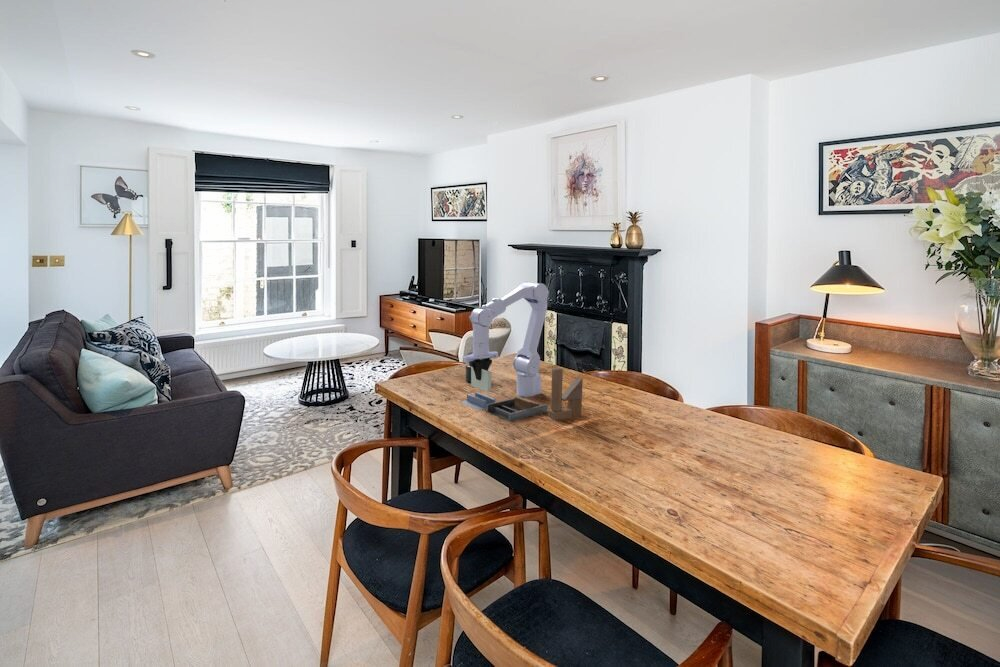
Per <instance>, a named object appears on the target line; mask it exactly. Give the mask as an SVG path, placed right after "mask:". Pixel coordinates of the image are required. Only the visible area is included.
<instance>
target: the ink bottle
mask: <svg viewBox="0 0 1000 667" xmlns="http://www.w3.org/2000/svg"><path fill="white" fill-rule="evenodd" d="M470 354H473V351H471V352H468V353H467V355H470ZM471 367H472V365H471V363H470V362H467V363H466V365H465V381H466V383H470V384H471Z"/></svg>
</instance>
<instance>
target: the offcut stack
mask: <svg viewBox="0 0 1000 667" xmlns="http://www.w3.org/2000/svg"><path fill="white" fill-rule="evenodd" d="M514 398H515V408H518V409H520V410H525V409H529V408H532V407H536V406H540V403H539V402H537V401H533V400H530V399H528V398H526V397H525V398H521V397H520V396H514Z"/></svg>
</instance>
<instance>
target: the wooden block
mask: <svg viewBox="0 0 1000 667" xmlns="http://www.w3.org/2000/svg"><path fill="white" fill-rule="evenodd" d="M563 374H564V371H563V368H561V367H553V368H551V398H550V402H551V403H550V409H548V417H549V419H551V420H552V421H558V420H565V419H571V418H580V417H582V402H583V400H582V399H583V380H584V379H583V378H582V377H579V376H576V377H575V378H574V379H573V381H572V382H571V383H570V384H569V386H568V387H567V388H566V389H565V390H564V391H563ZM566 401H567V408H566V407H563V402H566Z"/></svg>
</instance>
